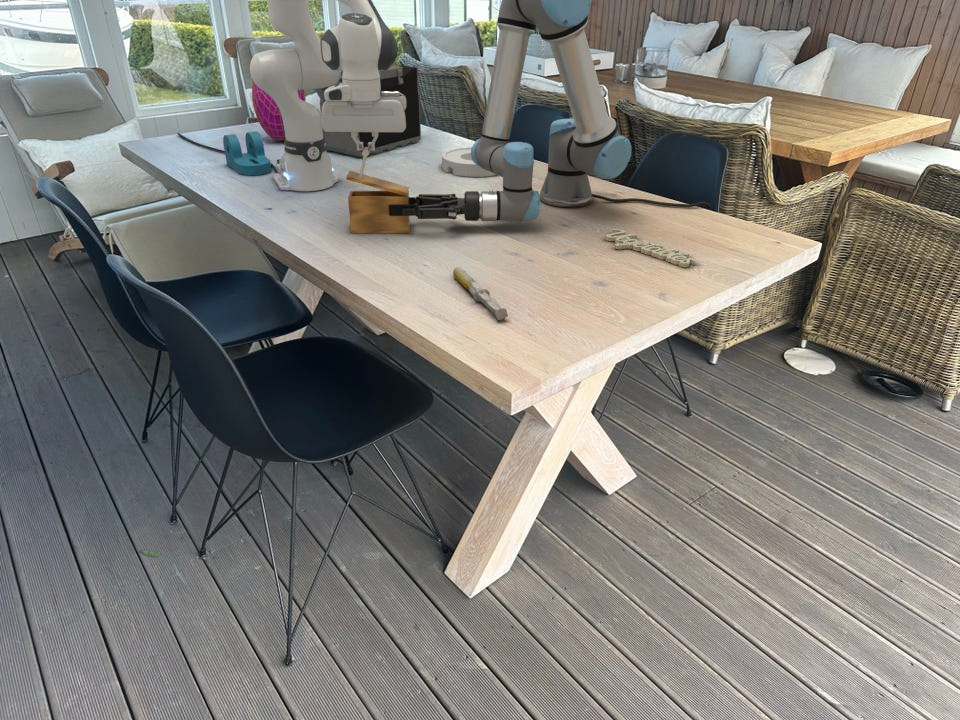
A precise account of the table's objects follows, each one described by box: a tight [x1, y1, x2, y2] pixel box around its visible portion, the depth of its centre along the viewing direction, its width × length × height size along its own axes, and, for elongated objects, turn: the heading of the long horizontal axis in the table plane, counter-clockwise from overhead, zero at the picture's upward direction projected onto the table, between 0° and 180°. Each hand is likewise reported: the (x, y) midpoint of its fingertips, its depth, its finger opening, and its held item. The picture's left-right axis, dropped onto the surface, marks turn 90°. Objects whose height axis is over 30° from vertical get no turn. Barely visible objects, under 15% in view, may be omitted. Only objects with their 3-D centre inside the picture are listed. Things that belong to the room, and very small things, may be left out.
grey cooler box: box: [314, 61, 422, 159], centre depth 250 cm, size 37×22×30 cm, turn 144°
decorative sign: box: [605, 228, 696, 268], centre depth 169 cm, size 26×1×10 cm
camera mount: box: [222, 131, 272, 176], centre depth 226 cm, size 18×10×10 cm, turn 35°
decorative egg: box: [251, 78, 307, 142], centre depth 257 cm, size 19×19×30 cm
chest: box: [347, 190, 411, 234], centre depth 178 cm, size 15×5×10 cm, turn 93°
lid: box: [345, 147, 410, 196], centre depth 172 cm, size 16×5×8 cm, turn 92°
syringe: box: [452, 266, 509, 321], centre depth 145 cm, size 25×4×3 cm, turn 21°
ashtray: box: [441, 146, 498, 178], centre depth 232 cm, size 23×23×4 cm
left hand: (366, 150), depth 170 cm, fingers closed on lid
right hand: (390, 206), depth 177 cm, fingers closed on chest, 5 cm apart
